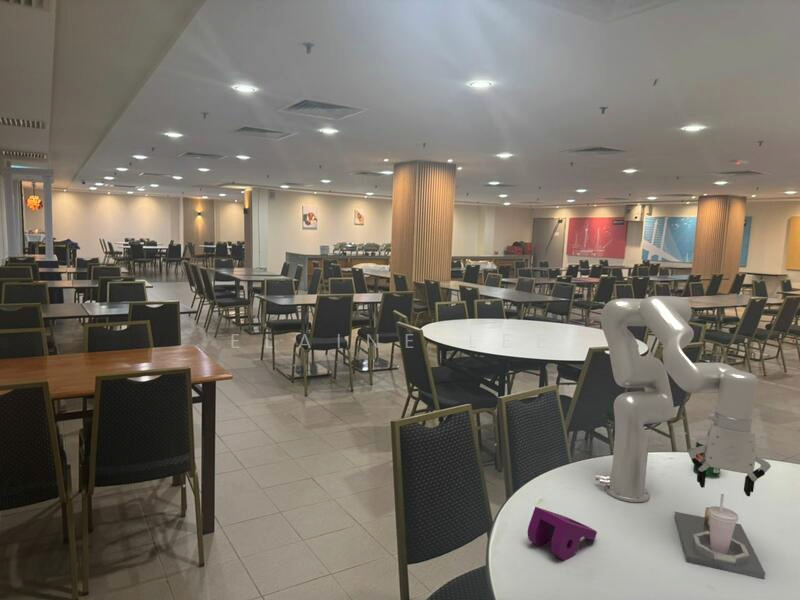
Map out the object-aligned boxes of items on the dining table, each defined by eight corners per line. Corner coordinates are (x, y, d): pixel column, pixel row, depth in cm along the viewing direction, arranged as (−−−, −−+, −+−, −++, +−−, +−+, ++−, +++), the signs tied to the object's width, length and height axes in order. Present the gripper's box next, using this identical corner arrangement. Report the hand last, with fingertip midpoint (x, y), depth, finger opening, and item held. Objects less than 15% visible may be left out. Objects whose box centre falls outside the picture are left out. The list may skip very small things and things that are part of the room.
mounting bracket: (561, 549, 143) (523, 539, 132) (572, 518, 144) (535, 506, 133) (593, 567, 135) (555, 558, 124) (604, 534, 137) (567, 522, 126)
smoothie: (707, 539, 136) (712, 486, 135) (736, 549, 132) (742, 495, 131) (701, 549, 131) (707, 495, 130) (731, 560, 127) (738, 504, 126)
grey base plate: (686, 561, 129) (688, 540, 128) (674, 516, 151) (676, 497, 150) (764, 579, 123) (767, 556, 122) (740, 529, 145) (742, 510, 145)
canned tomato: (691, 474, 182) (694, 442, 181) (695, 467, 188) (698, 436, 187) (718, 481, 177) (721, 448, 176) (721, 473, 183) (724, 442, 182)
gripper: (694, 420, 128) (686, 488, 130) (780, 433, 122) (769, 504, 124) (690, 411, 135) (682, 476, 137) (770, 423, 129) (761, 490, 131)
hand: (723, 489), depth 131 cm, fingers open, 9 cm apart
